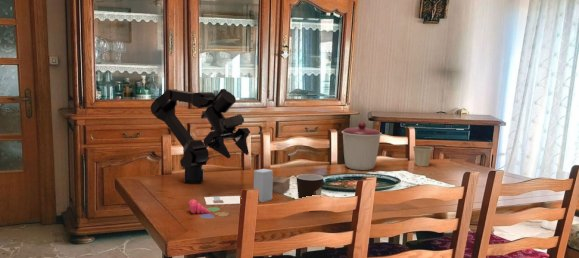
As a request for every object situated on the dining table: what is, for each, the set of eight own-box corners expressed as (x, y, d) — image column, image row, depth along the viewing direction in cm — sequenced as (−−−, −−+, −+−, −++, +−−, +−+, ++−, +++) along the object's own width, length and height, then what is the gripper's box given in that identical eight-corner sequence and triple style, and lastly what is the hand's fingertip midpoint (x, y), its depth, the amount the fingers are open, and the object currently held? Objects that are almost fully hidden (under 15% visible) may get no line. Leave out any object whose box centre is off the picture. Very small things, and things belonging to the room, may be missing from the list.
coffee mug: (303, 212, 153) (304, 181, 152) (290, 205, 161) (291, 175, 160) (335, 208, 159) (336, 178, 157) (321, 201, 166) (322, 172, 165)
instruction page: (206, 205, 158) (206, 204, 158) (204, 197, 167) (204, 196, 167) (243, 203, 161) (243, 203, 161) (239, 196, 170) (239, 195, 169)
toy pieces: (192, 221, 142) (192, 206, 142) (186, 210, 153) (186, 196, 152) (233, 217, 147) (233, 203, 146) (224, 207, 157) (224, 194, 157)
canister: (351, 162, 237) (353, 118, 234) (386, 168, 226) (389, 122, 224) (332, 168, 222) (334, 121, 220) (368, 174, 212) (371, 125, 209)
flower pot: (434, 167, 231) (435, 149, 230) (414, 167, 231) (415, 148, 230) (429, 163, 240) (430, 146, 239) (409, 163, 240) (410, 145, 239)
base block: (262, 191, 177) (262, 180, 176) (268, 186, 185) (269, 176, 184) (283, 193, 175) (283, 182, 174) (289, 188, 183) (289, 178, 182)
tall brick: (253, 199, 166) (254, 170, 165) (263, 197, 170) (264, 168, 168) (262, 202, 163) (263, 172, 162) (272, 199, 167) (273, 170, 166)
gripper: (210, 108, 166) (232, 145, 161) (247, 105, 181) (269, 139, 176) (193, 128, 172) (214, 164, 167) (231, 124, 187) (251, 157, 182)
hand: (238, 156), depth 173 cm, fingers open, 9 cm apart
